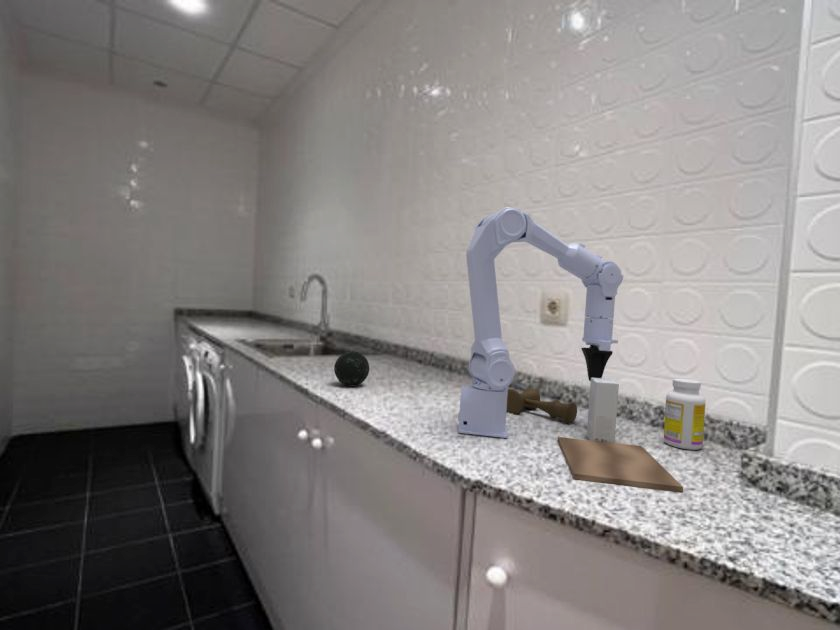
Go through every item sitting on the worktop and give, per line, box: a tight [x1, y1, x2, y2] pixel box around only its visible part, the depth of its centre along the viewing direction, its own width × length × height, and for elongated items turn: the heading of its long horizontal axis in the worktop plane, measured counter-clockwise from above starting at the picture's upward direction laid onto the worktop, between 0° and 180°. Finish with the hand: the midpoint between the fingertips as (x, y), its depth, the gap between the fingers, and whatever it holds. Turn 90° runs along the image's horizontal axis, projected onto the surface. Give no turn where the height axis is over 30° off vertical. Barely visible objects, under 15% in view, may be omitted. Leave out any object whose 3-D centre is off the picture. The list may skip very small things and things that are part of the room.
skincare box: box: [586, 377, 619, 443], centre depth 86 cm, size 6×4×12 cm
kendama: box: [506, 387, 578, 425], centre depth 105 cm, size 6×10×20 cm
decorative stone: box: [333, 350, 370, 386], centre depth 127 cm, size 10×10×10 cm
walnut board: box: [557, 436, 684, 493], centre depth 74 cm, size 15×19×1 cm
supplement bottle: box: [663, 378, 706, 451], centre depth 86 cm, size 7×7×13 cm
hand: (594, 381), depth 94 cm, fingers closed
